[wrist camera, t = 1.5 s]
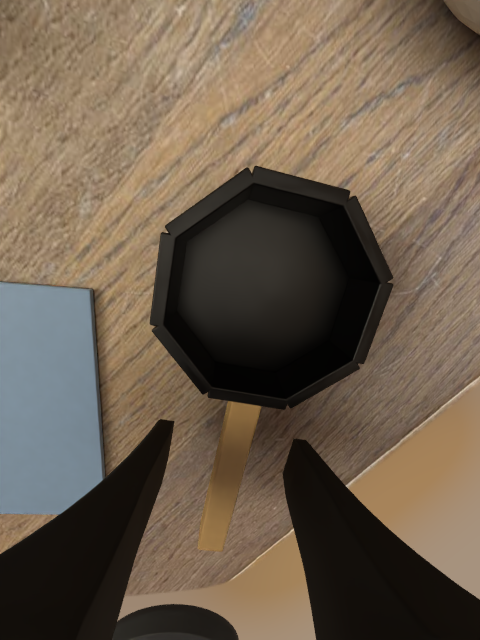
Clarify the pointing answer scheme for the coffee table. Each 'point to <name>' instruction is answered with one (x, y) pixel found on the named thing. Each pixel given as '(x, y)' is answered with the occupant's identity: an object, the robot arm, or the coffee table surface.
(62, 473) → the napkin
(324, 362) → the pan
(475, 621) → the robot arm
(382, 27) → the coffee table surface
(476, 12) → the teacup
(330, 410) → the coffee table surface
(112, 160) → the coffee table surface
